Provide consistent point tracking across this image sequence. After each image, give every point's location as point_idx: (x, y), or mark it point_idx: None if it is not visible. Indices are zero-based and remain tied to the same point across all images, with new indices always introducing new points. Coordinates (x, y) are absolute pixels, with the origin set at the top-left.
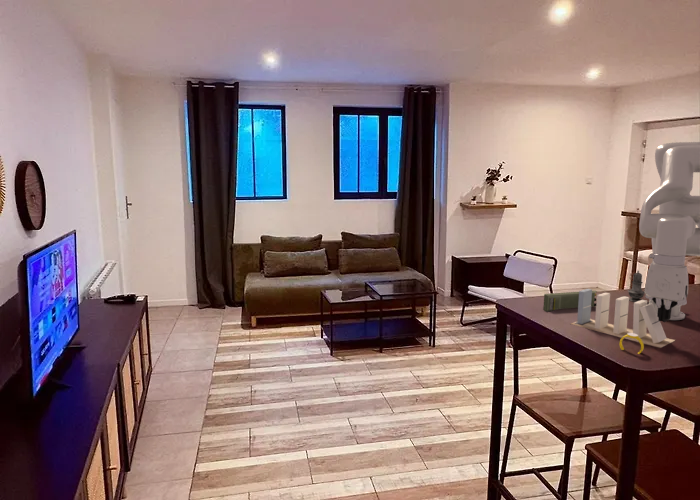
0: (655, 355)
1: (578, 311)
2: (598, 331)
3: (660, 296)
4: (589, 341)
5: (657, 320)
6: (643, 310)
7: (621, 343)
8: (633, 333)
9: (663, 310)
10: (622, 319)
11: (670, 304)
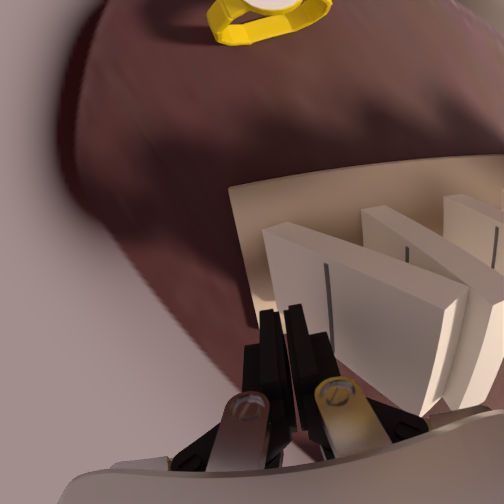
0: (196, 107)
1: None
2: (493, 155)
3: (320, 489)
4: (448, 36)
5: (336, 340)
6: (428, 285)
7: (317, 2)
8: (282, 1)
9: (276, 370)
10: (482, 248)
11: (216, 442)
